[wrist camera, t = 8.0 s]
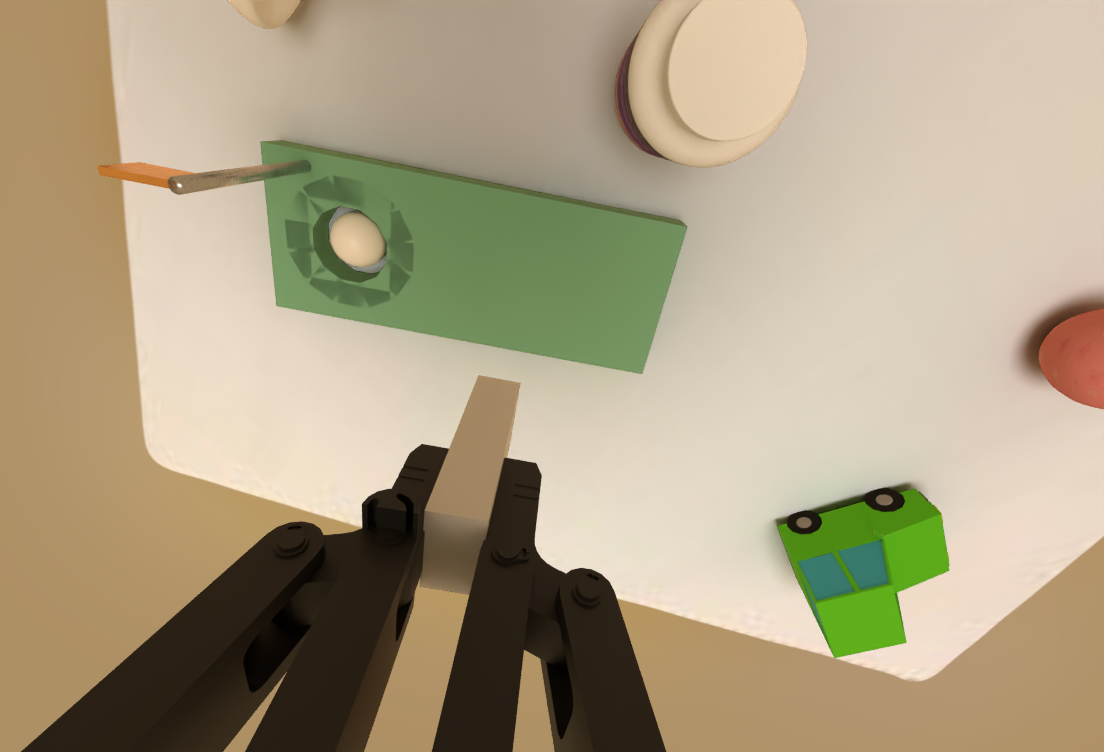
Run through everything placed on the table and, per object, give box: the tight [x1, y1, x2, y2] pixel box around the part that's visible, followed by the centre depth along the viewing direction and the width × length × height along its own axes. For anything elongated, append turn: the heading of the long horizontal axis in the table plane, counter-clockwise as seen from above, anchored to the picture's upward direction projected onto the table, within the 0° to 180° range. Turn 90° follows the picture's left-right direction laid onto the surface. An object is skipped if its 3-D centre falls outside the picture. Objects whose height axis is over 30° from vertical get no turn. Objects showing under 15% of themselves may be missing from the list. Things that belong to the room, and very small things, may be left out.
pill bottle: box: [615, 0, 807, 167], centre depth 26 cm, size 8×8×14 cm
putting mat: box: [260, 141, 687, 374], centre depth 37 cm, size 12×30×2 cm, turn 80°
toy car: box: [777, 488, 949, 658], centre depth 45 cm, size 10×13×10 cm
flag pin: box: [98, 160, 311, 195], centre depth 28 cm, size 1×4×12 cm, turn 80°
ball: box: [330, 212, 387, 267], centre depth 36 cm, size 4×4×4 cm
